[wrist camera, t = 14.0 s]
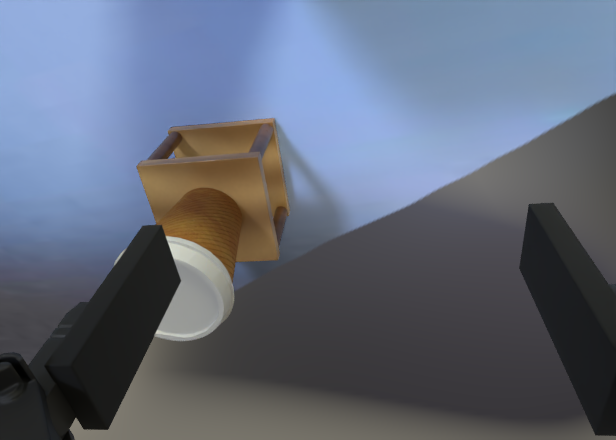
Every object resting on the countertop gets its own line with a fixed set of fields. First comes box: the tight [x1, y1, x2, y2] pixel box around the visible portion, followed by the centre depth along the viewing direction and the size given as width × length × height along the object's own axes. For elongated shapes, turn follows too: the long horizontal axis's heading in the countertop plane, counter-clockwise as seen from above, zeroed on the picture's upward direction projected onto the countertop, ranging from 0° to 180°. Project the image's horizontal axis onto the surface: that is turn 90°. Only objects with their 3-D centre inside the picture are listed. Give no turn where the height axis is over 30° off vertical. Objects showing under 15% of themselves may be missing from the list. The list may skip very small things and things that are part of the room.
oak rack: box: [137, 118, 290, 262], centre depth 49 cm, size 12×12×10 cm
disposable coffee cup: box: [114, 188, 242, 341], centre depth 40 cm, size 10×10×12 cm
